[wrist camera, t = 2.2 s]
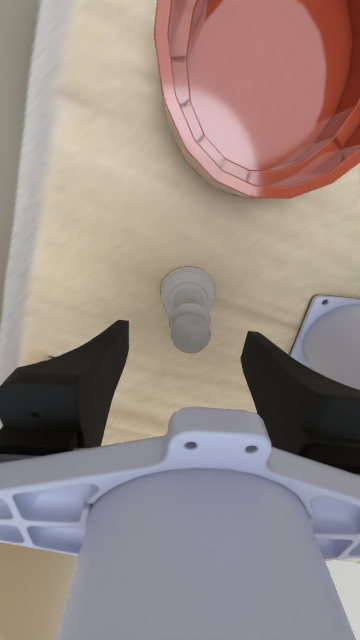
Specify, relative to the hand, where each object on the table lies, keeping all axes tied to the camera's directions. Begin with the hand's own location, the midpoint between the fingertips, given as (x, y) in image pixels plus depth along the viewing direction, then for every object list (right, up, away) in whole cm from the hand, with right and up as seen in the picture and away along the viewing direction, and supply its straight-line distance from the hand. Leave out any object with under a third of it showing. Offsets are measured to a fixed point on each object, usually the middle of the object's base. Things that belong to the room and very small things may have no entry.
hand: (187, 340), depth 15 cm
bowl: (+5, +16, 0) cm, 16 cm away
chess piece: (0, +4, +7) cm, 8 cm away
